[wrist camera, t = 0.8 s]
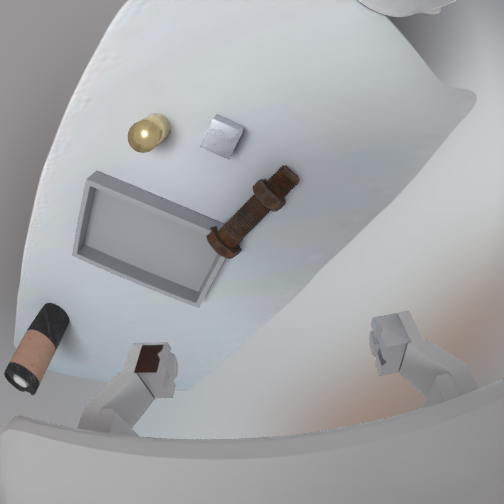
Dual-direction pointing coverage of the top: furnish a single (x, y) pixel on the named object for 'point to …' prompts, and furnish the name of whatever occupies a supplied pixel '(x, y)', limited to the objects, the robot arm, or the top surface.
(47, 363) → the travel mug
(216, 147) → the steel block
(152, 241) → the parts tray
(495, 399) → the robot arm
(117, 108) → the top surface
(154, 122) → the brass cylinder
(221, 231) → the bolt
